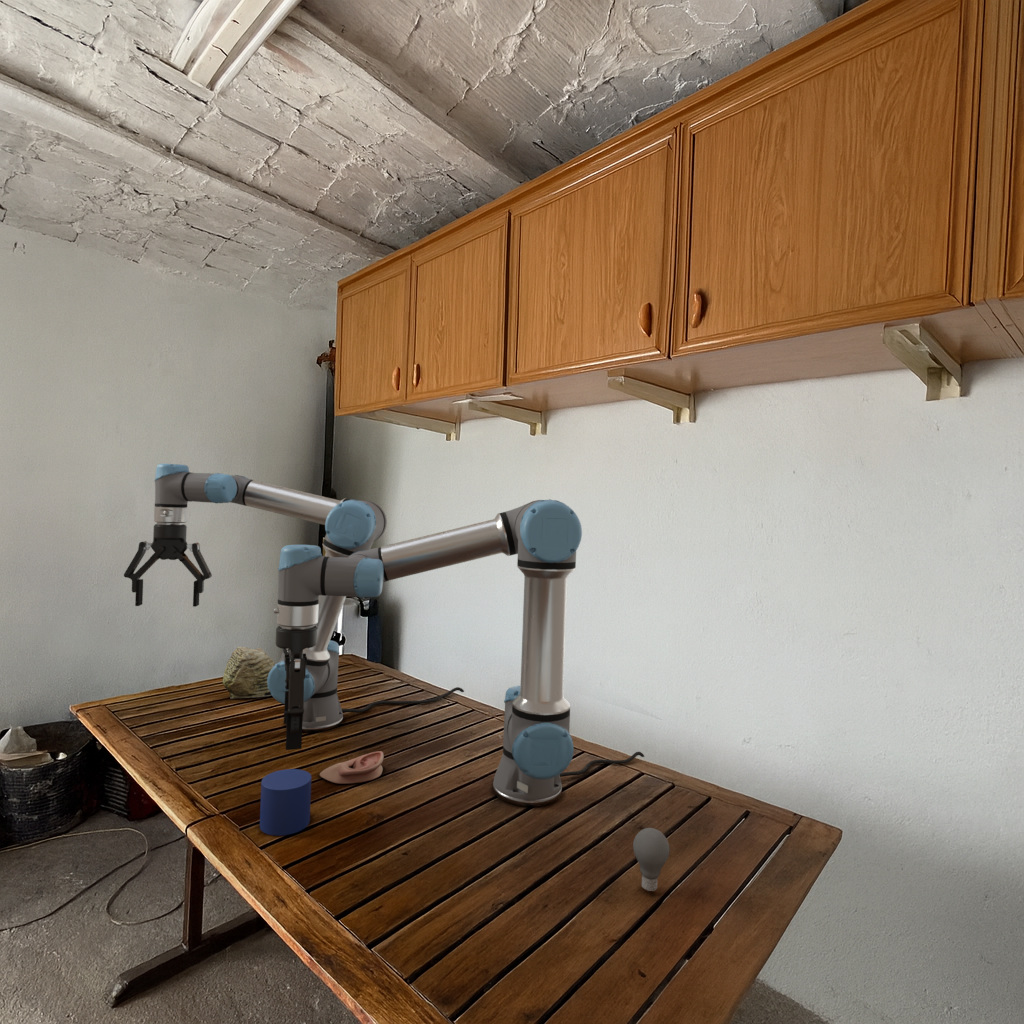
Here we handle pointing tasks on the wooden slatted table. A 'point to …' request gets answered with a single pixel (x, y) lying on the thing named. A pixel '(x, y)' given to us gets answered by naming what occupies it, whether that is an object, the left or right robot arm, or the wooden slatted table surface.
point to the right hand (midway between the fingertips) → (292, 735)
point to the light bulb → (650, 855)
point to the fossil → (248, 673)
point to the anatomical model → (355, 769)
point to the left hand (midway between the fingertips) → (167, 605)
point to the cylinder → (285, 802)
